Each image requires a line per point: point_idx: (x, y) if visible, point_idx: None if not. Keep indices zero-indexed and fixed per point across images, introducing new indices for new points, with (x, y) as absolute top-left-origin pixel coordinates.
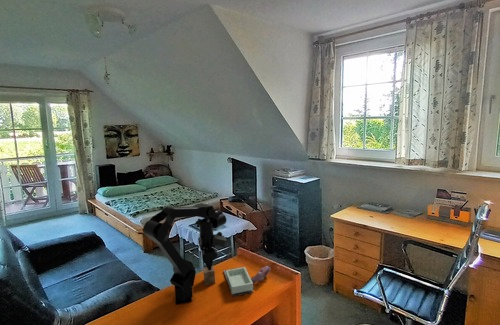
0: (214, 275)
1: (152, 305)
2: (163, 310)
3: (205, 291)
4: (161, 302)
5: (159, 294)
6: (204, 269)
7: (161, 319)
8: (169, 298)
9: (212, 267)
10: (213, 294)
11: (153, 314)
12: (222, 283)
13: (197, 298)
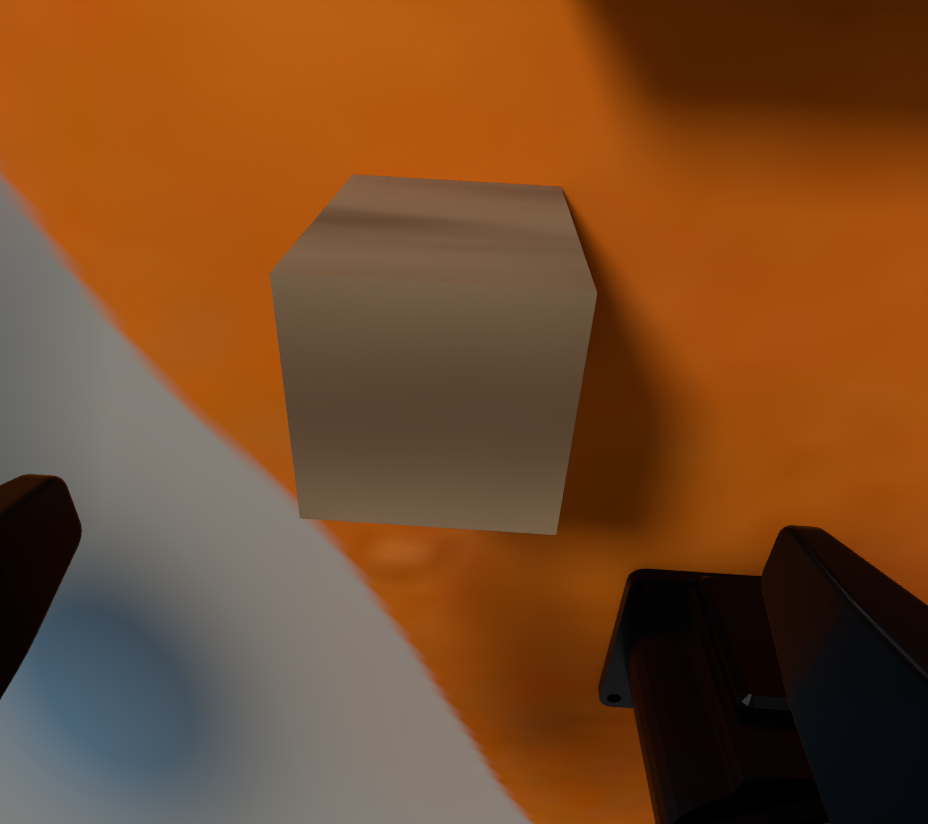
0: (579, 252)
1: (646, 818)
2: None
3: (716, 396)
4: (643, 774)
5: (499, 776)
6: (394, 506)
7: None
8: (616, 728)
9: (357, 307)
10: (887, 295)
11: None
12: (642, 23)
13: (812, 515)
